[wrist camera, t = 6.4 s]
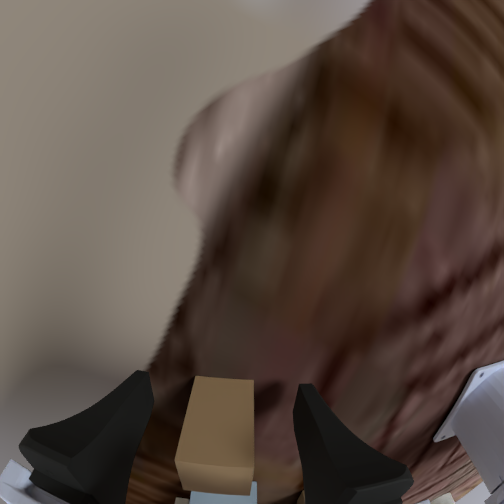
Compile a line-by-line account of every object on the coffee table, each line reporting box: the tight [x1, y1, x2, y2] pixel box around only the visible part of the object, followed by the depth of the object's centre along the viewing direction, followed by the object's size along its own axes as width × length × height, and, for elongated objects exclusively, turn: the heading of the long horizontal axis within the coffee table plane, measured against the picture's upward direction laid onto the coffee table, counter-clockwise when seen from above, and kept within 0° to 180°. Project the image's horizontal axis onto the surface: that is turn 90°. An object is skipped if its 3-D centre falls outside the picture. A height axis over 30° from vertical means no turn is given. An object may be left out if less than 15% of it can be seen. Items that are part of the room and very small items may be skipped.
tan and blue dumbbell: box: [175, 376, 257, 504], centre depth 13 cm, size 5×17×6 cm, turn 177°
